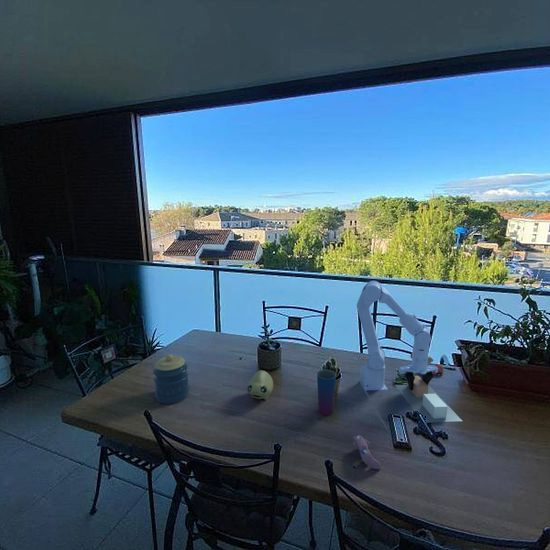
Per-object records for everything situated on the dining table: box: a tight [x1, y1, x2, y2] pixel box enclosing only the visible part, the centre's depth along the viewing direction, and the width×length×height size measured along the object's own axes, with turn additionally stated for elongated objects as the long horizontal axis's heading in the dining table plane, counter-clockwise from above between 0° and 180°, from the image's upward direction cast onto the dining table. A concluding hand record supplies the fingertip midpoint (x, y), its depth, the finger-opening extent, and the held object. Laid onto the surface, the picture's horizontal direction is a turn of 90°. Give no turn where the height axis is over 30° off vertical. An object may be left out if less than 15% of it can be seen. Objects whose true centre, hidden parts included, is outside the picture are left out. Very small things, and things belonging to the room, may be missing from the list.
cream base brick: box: [422, 394, 448, 418], centre depth 117 cm, size 4×8×4 cm, turn 3°
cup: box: [316, 369, 337, 417], centre depth 117 cm, size 7×7×15 cm
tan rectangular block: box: [406, 375, 429, 397], centre depth 130 cm, size 4×8×4 cm, turn 3°
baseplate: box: [394, 384, 463, 424], centre depth 124 cm, size 14×24×1 cm, turn 3°
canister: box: [152, 353, 190, 405], centre depth 128 cm, size 13×13×18 cm
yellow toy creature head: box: [247, 369, 274, 401], centre depth 127 cm, size 10×12×11 cm
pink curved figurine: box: [352, 435, 382, 470], centre depth 96 cm, size 10×5×7 cm, turn 5°
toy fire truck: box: [410, 352, 444, 376], centre depth 144 cm, size 3×14×10 cm, turn 84°
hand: (417, 388), depth 130 cm, fingers open, 5 cm apart
